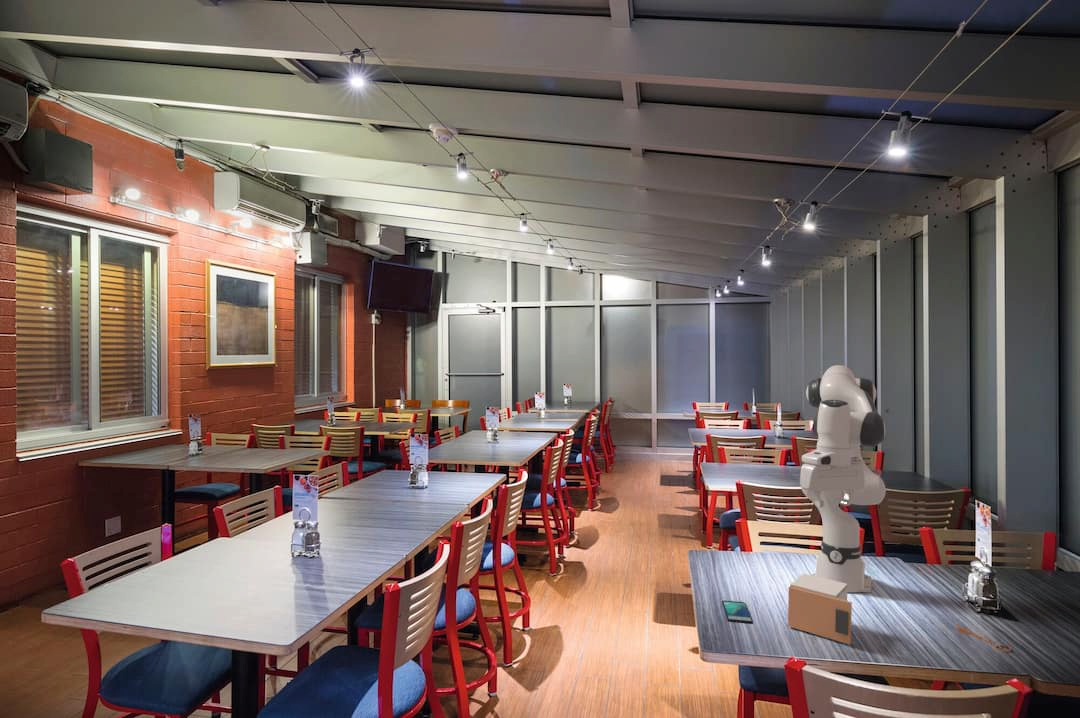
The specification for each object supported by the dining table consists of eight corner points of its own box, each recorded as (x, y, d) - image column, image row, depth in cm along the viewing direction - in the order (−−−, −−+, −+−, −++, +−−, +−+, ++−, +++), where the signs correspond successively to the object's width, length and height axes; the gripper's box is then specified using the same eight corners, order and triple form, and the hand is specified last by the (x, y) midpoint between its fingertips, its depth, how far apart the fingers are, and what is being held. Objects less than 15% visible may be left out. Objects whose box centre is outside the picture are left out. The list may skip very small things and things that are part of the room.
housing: (802, 613, 178) (803, 573, 178) (846, 625, 170) (847, 583, 170) (789, 626, 169) (790, 584, 169) (835, 639, 161) (835, 595, 161)
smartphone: (727, 620, 172) (721, 599, 186) (727, 623, 172) (721, 602, 186) (753, 622, 170) (745, 602, 185) (753, 625, 170) (745, 604, 185)
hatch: (789, 624, 169) (789, 586, 169) (850, 643, 158) (851, 602, 158) (787, 626, 168) (788, 587, 168) (849, 645, 157) (850, 603, 157)
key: (947, 630, 170) (996, 655, 156) (947, 627, 170) (996, 652, 156) (964, 627, 171) (1015, 652, 157) (964, 624, 171) (1014, 648, 157)
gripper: (852, 455, 175) (852, 502, 175) (796, 456, 169) (795, 505, 168) (870, 458, 169) (870, 507, 169) (813, 459, 163) (812, 509, 162)
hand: (832, 506), depth 168 cm, fingers open, 8 cm apart
